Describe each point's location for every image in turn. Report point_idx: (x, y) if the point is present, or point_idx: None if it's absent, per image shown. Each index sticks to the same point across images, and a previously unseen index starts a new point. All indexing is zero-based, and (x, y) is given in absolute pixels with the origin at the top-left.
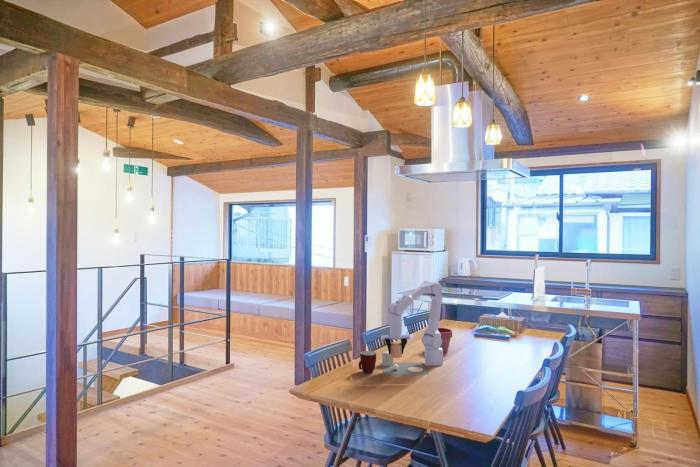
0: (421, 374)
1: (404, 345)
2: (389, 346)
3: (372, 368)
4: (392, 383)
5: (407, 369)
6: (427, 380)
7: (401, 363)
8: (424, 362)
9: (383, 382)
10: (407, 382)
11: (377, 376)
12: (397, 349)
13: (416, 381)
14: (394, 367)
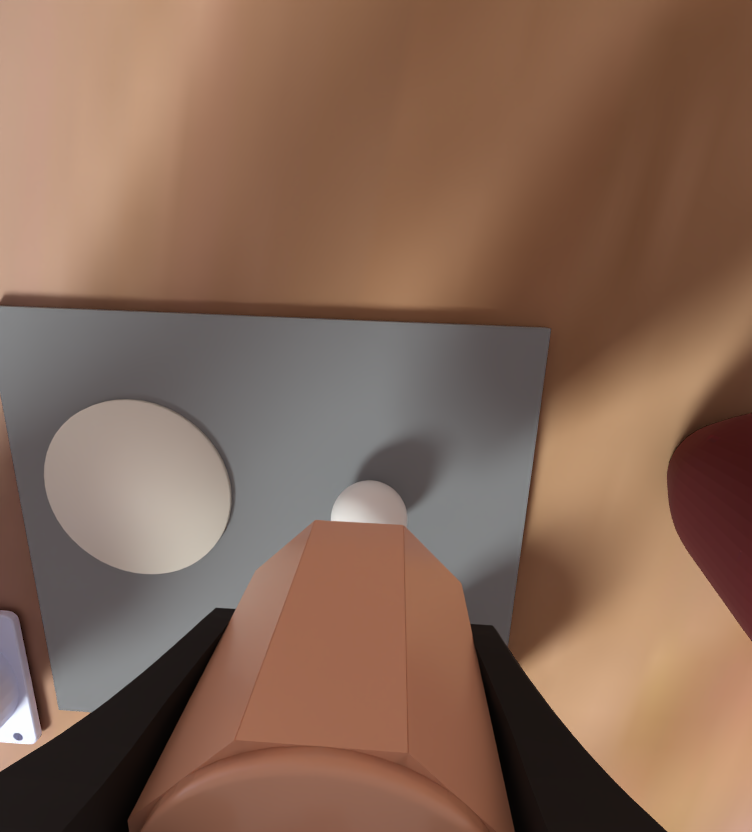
0: (81, 310)
1: (41, 762)
2: (562, 777)
3: (740, 423)
4: (523, 4)
5: (229, 495)
6: (30, 109)
7: None
8: (20, 702)
9: (638, 62)
10: (305, 38)
11: (642, 329)
12: (316, 638)
13: (178, 75)
14: (391, 492)
